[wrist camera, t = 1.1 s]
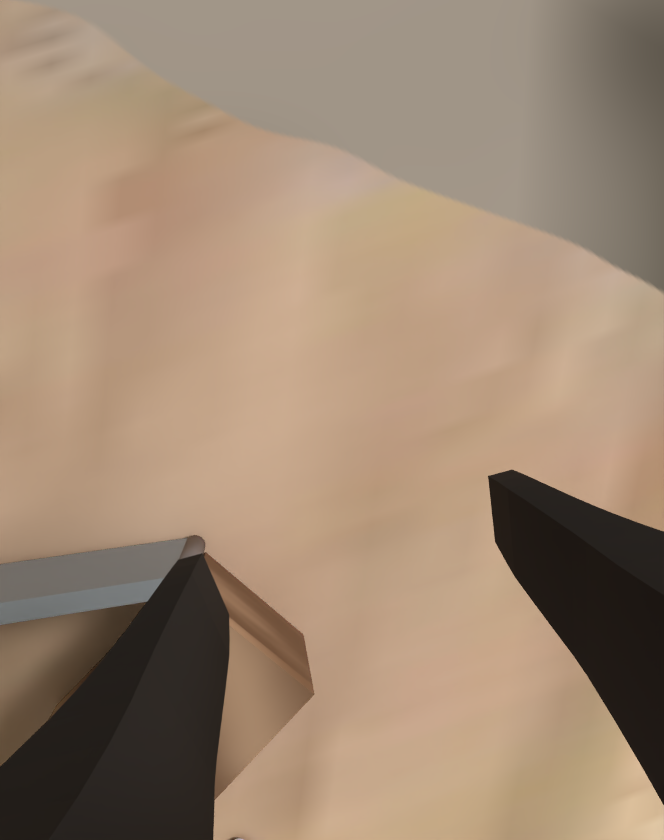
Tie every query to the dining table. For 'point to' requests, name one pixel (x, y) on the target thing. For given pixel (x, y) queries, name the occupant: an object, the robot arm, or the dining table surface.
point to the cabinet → (253, 676)
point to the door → (88, 579)
